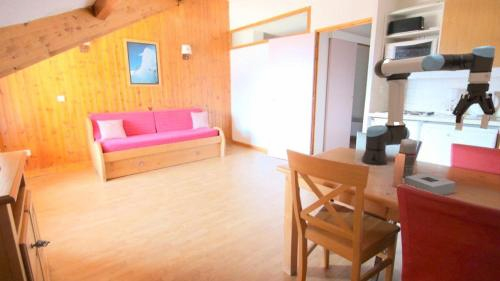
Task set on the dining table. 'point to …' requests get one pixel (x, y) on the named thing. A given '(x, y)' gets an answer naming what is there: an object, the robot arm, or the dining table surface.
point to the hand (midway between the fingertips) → (471, 129)
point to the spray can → (408, 155)
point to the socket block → (431, 183)
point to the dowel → (398, 169)
